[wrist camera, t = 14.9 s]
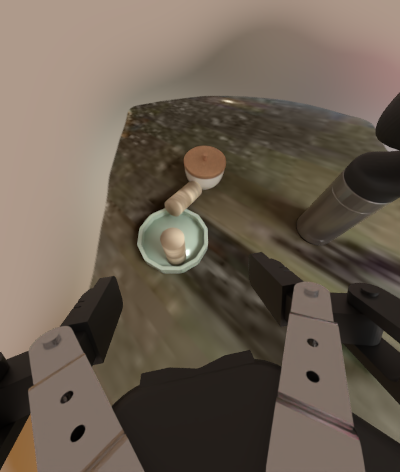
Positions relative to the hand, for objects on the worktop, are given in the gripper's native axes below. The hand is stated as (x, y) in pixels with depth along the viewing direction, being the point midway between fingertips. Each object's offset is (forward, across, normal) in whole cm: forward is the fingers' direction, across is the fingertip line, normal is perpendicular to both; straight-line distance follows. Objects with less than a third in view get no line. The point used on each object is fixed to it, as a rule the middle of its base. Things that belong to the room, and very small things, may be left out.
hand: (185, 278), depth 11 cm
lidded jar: (+46, -9, -2) cm, 47 cm away
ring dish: (+34, +2, +10) cm, 35 cm away
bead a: (+30, +2, +12) cm, 32 cm away
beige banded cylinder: (+34, +1, +2) cm, 34 cm away
